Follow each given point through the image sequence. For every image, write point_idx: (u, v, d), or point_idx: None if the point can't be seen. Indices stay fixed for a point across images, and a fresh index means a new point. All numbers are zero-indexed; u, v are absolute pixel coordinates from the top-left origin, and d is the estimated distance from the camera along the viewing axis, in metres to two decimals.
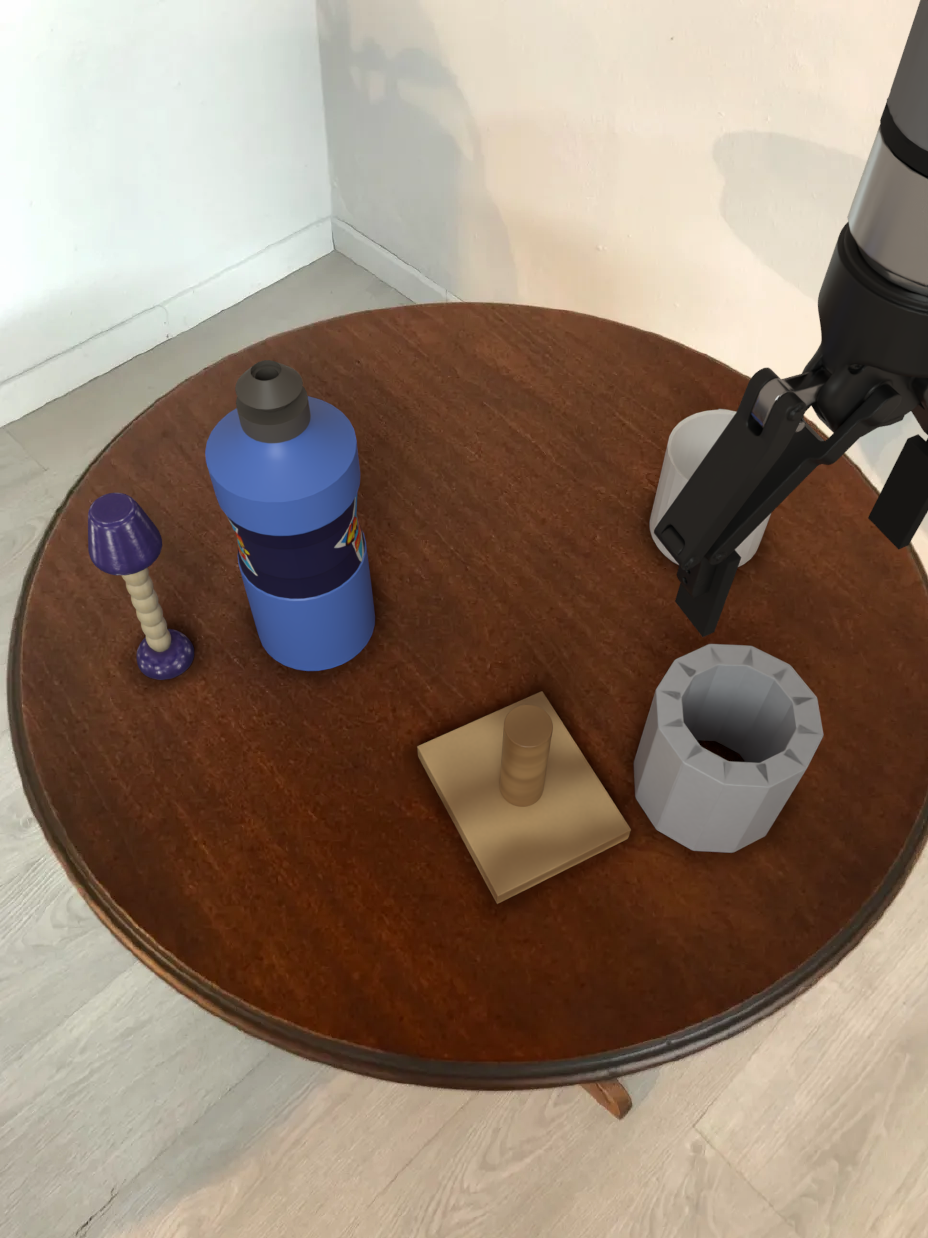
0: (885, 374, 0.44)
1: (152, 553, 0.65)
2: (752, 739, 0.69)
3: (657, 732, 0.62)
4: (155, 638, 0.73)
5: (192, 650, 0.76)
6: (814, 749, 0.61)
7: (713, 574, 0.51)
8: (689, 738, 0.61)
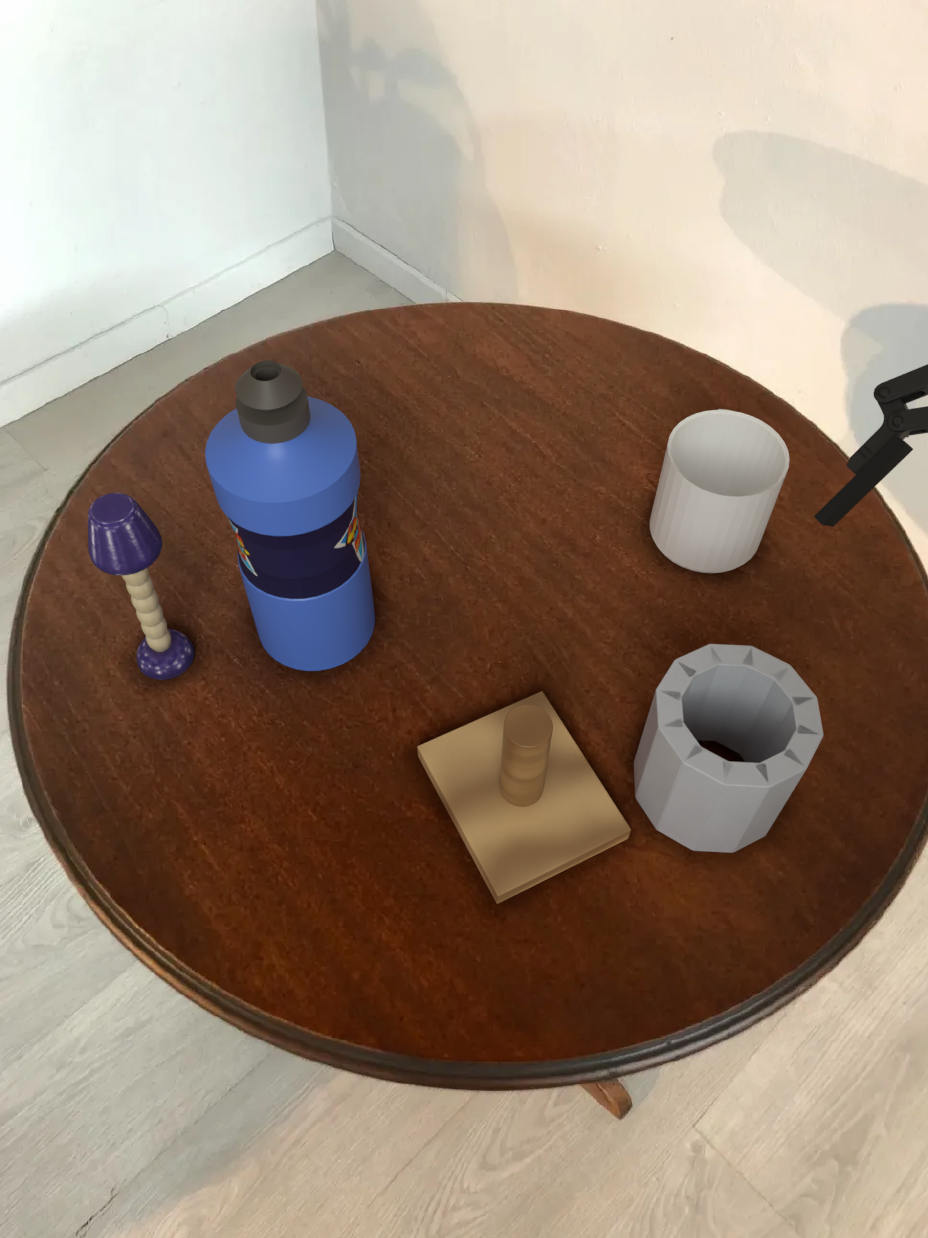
0: None
1: (152, 553, 0.65)
2: (752, 739, 0.69)
3: (657, 732, 0.62)
4: (155, 638, 0.73)
5: (192, 650, 0.76)
6: (814, 749, 0.61)
7: None
8: (689, 738, 0.61)
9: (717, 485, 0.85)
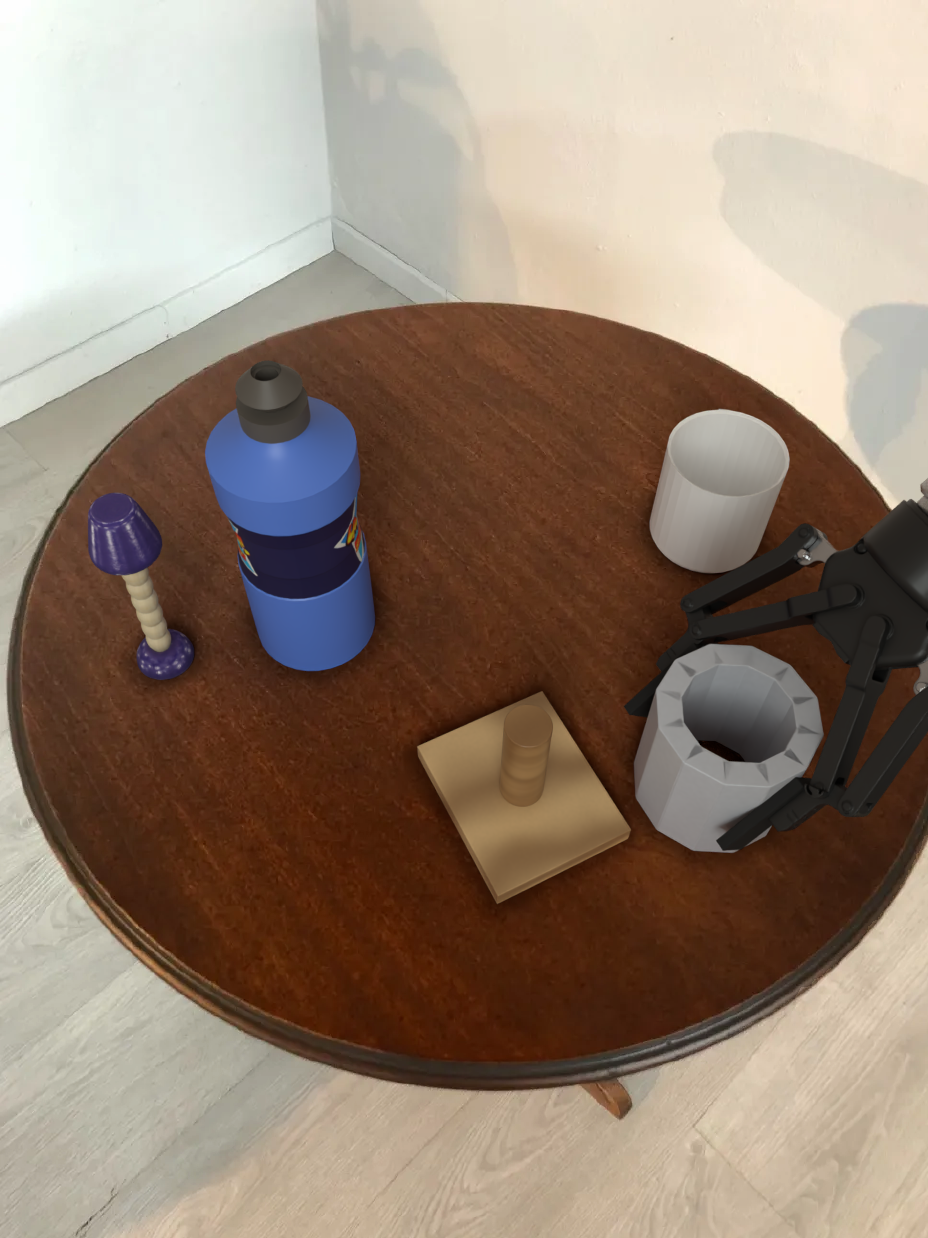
0: (865, 583, 0.60)
1: (152, 553, 0.65)
2: (752, 739, 0.69)
3: (657, 732, 0.62)
4: (155, 638, 0.73)
5: (192, 650, 0.76)
6: (814, 749, 0.61)
7: None
8: (689, 738, 0.61)
9: (717, 485, 0.85)
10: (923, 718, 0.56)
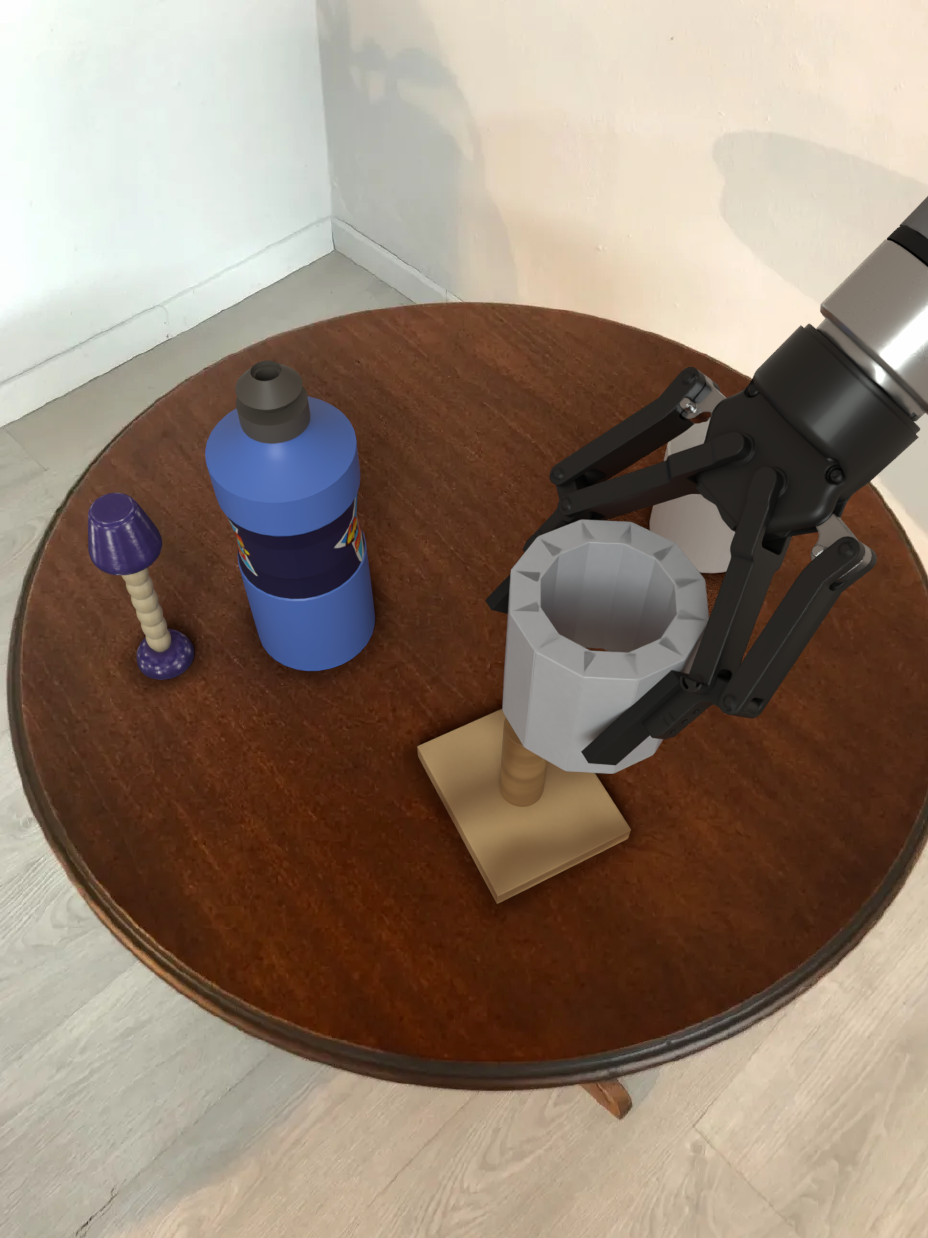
0: (756, 432, 0.49)
1: (152, 553, 0.65)
2: (640, 641, 0.58)
3: (509, 618, 0.51)
4: (155, 638, 0.73)
5: (192, 650, 0.76)
6: (696, 637, 0.50)
7: None
8: (545, 624, 0.50)
9: None
10: (820, 588, 0.46)
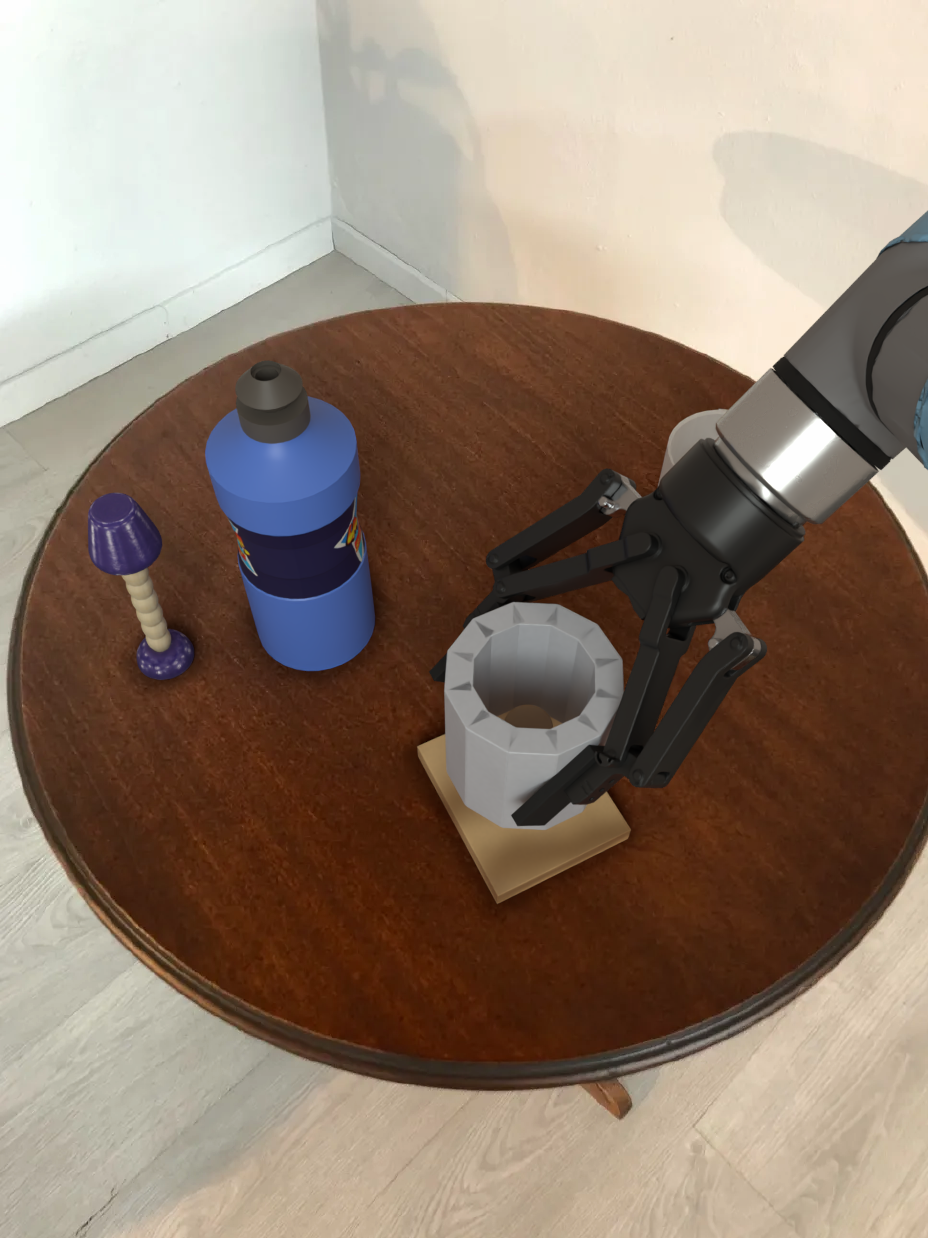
0: (663, 532, 0.54)
1: (152, 553, 0.65)
2: (571, 707, 0.64)
3: (444, 696, 0.57)
4: (155, 638, 0.73)
5: (192, 650, 0.76)
6: (612, 714, 0.56)
7: None
8: (476, 702, 0.56)
9: None
10: (715, 677, 0.51)
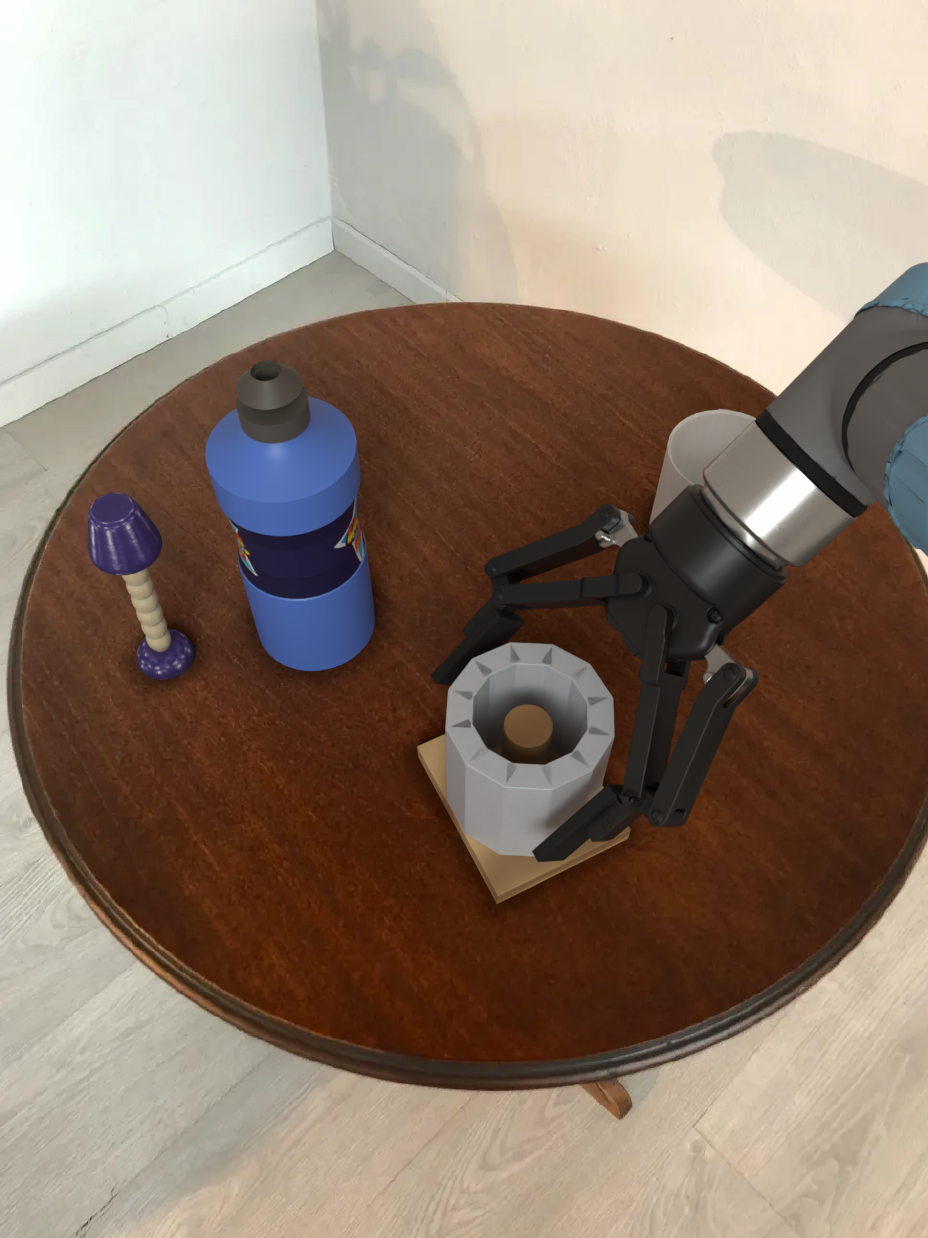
0: (653, 572, 0.57)
1: (152, 553, 0.65)
2: (565, 740, 0.67)
3: (446, 733, 0.60)
4: (155, 638, 0.73)
5: (192, 650, 0.76)
6: (603, 750, 0.59)
7: None
8: (475, 739, 0.59)
9: None
10: (714, 709, 0.54)
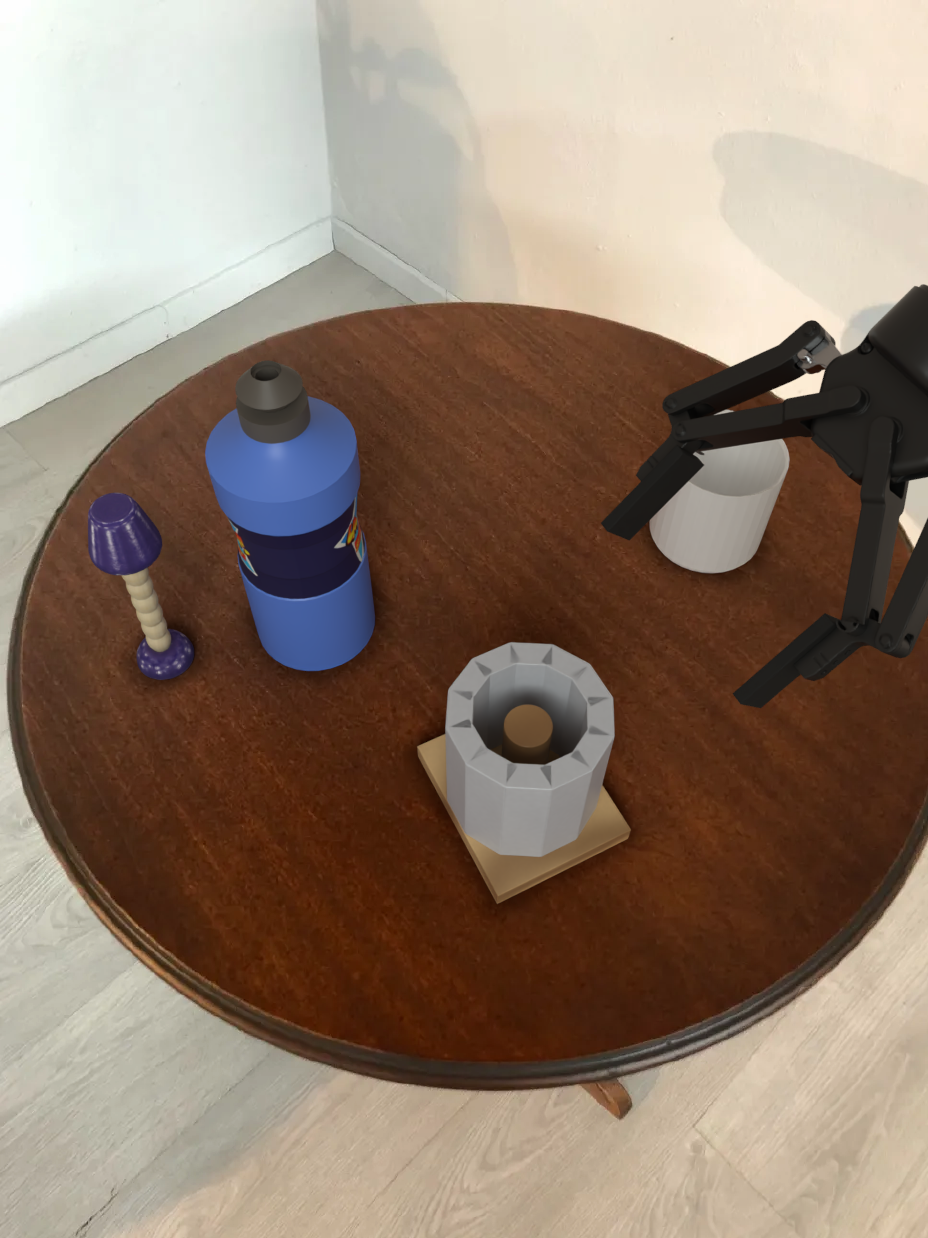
0: (871, 386, 0.53)
1: (152, 553, 0.65)
2: (565, 740, 0.67)
3: (446, 733, 0.60)
4: (155, 638, 0.73)
5: (192, 650, 0.76)
6: (603, 750, 0.59)
7: None
8: (475, 739, 0.59)
9: (717, 485, 0.85)
10: None
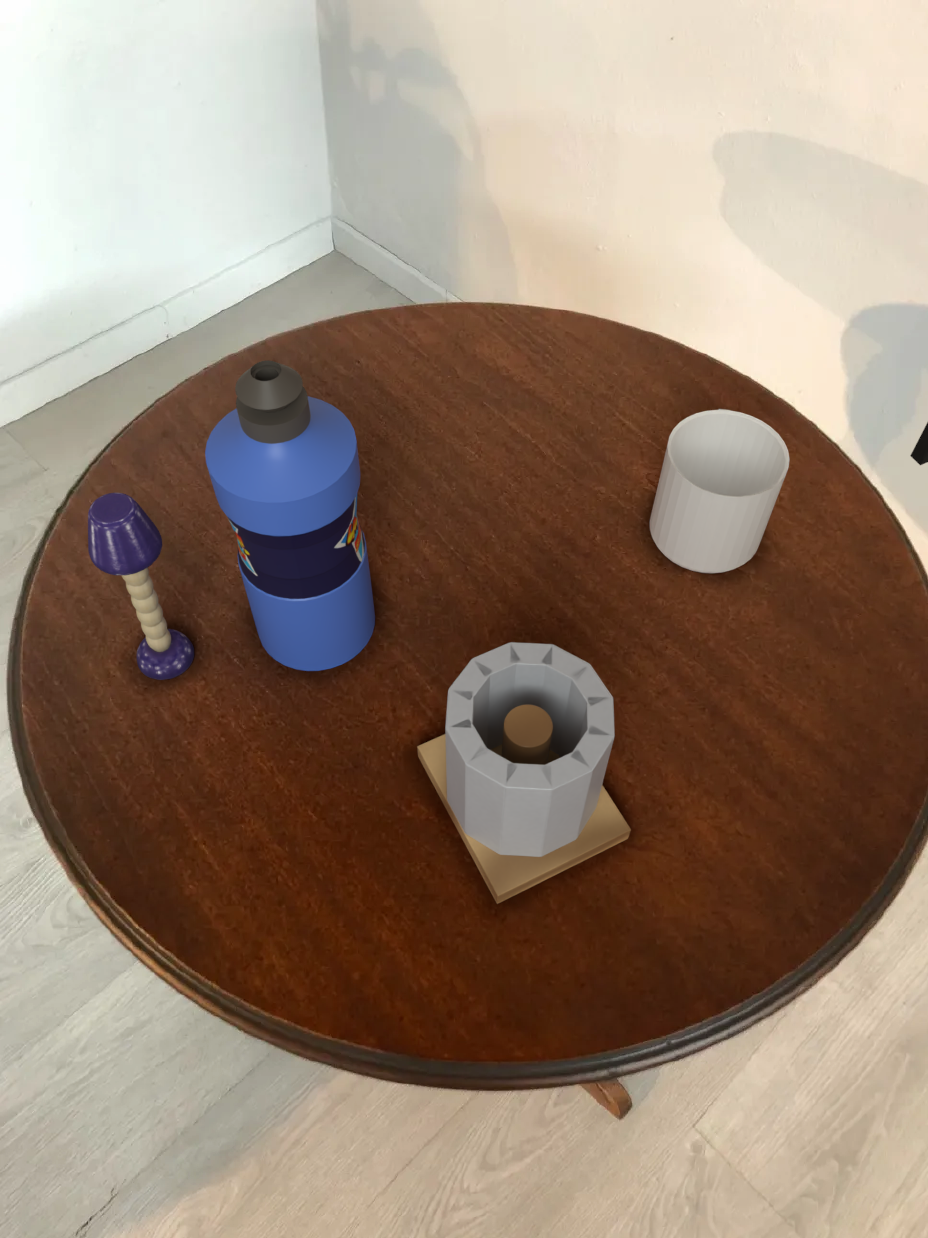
0: None
1: (152, 553, 0.65)
2: (565, 740, 0.67)
3: (446, 733, 0.60)
4: (155, 638, 0.73)
5: (192, 650, 0.76)
6: (603, 750, 0.59)
7: None
8: (475, 739, 0.59)
9: (717, 485, 0.85)
10: None
